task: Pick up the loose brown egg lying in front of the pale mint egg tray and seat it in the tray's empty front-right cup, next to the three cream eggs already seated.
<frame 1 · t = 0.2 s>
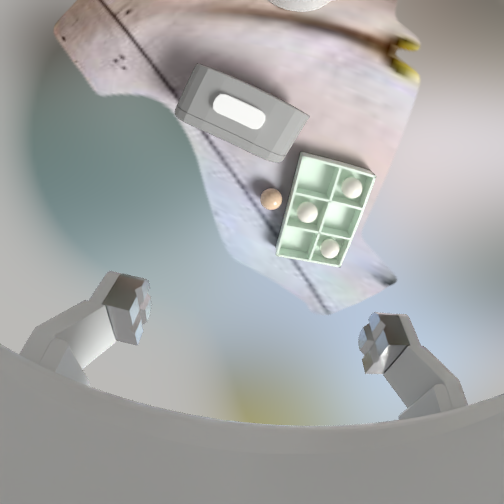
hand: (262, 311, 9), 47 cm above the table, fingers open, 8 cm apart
cream egg a: (349, 183, 54), point 1 cm above the table, touching egg tray
cream egg b: (327, 243, 62), point 1 cm above the table, touching egg tray
egg tray: (321, 210, 58), on the table
alarm clock: (244, 107, 47), on the table
brown egg: (271, 194, 57), on the table
cream egg c: (305, 207, 58), point 1 cm above the table, touching egg tray
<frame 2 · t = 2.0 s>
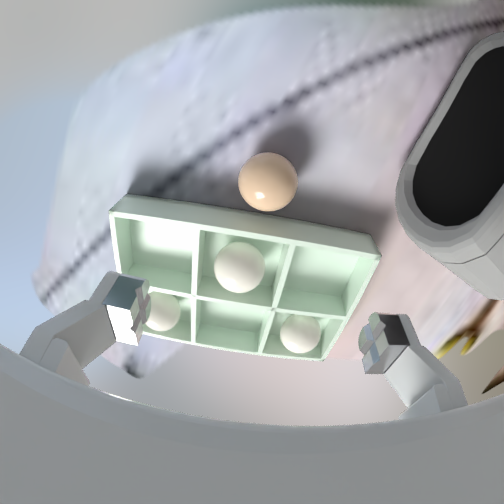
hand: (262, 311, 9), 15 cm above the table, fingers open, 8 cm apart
cream egg a: (299, 318, 30), point 1 cm above the table, touching egg tray
cream egg b: (166, 296, 30), point 1 cm above the table, touching egg tray
egg tray: (237, 279, 28), on the table
alarm clock: (462, 134, 18), on the table
brown egg: (268, 172, 22), on the table
cream egg c: (241, 252, 26), point 1 cm above the table, touching egg tray
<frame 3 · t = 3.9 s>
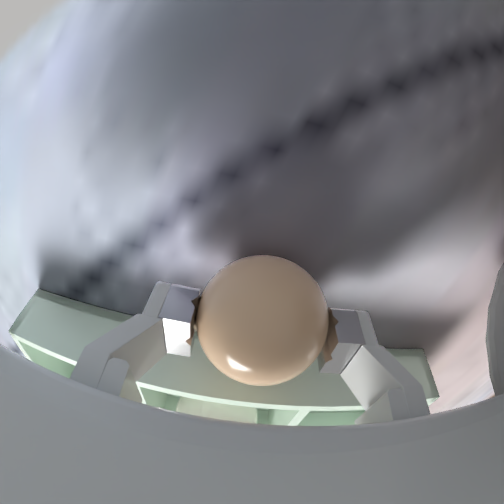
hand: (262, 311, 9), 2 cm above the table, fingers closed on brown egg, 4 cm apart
egg tray: (218, 399, 17), on the table
brown egg: (263, 279, 11), on the table, touching gripper
cream egg c: (220, 382, 15), point 1 cm above the table, touching egg tray
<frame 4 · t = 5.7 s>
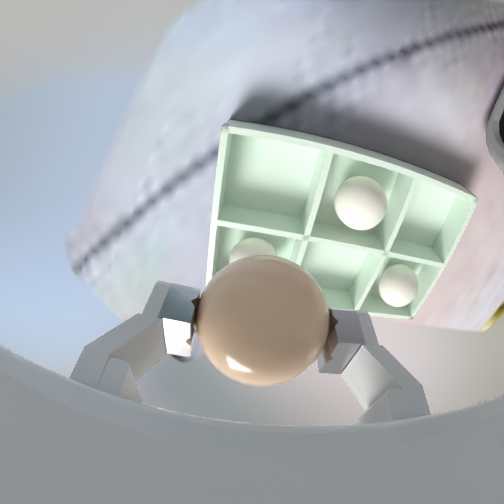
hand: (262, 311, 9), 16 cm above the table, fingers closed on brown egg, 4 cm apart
cream egg a: (392, 272, 27), point 1 cm above the table, touching egg tray
cream egg b: (255, 248, 27), point 1 cm above the table, touching egg tray
egg tray: (340, 225, 25), on the table
brown egg: (263, 278, 11), point 14 cm above the table, touching gripper
cream egg c: (354, 192, 23), point 1 cm above the table, touching egg tray
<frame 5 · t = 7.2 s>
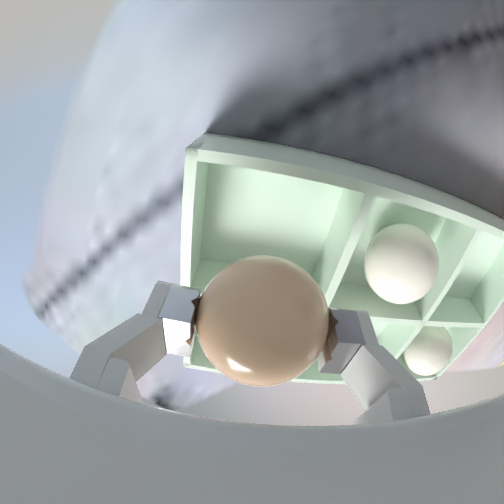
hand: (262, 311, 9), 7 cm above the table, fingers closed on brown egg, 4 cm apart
cream egg a: (420, 329, 20), point 1 cm above the table, touching egg tray
egg tray: (364, 282, 18), on the table
brown egg: (263, 279, 11), point 6 cm above the table, touching gripper
cream egg c: (389, 241, 15), point 1 cm above the table, touching egg tray
when the fingers open (5 cm above the table, at t = 8.0 s): brown egg drops 3 cm, resting on egg tray.
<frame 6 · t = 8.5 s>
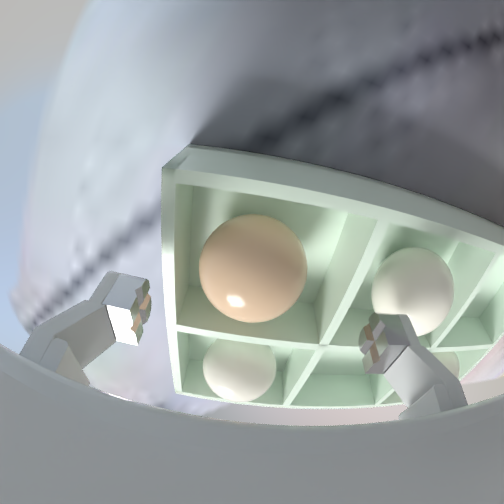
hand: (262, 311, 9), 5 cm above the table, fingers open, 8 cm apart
cream egg a: (426, 350, 18), point 1 cm above the table, touching egg tray
cream egg b: (242, 339, 17), point 1 cm above the table, touching egg tray
egg tray: (369, 306, 16), on the table
brown egg: (266, 242, 13), point 1 cm above the table, tilted 14°, touching egg tray
cream egg c: (398, 265, 14), point 1 cm above the table, touching egg tray
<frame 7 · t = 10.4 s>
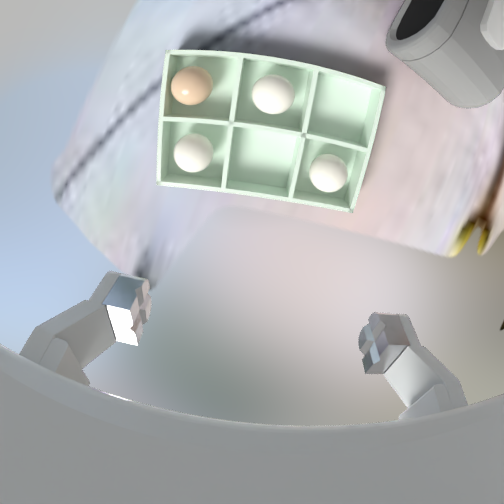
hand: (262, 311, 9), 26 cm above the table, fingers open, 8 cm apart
cream egg a: (324, 167, 31), point 1 cm above the table, touching egg tray
cream egg b: (197, 148, 30), point 1 cm above the table, touching egg tray
egg tray: (266, 124, 29), on the table
alarm clock: (429, 24, 19), on the table
brown egg: (204, 85, 26), point 1 cm above the table, tilted 27°, touching egg tray
cream egg c: (272, 93, 27), point 1 cm above the table, touching egg tray
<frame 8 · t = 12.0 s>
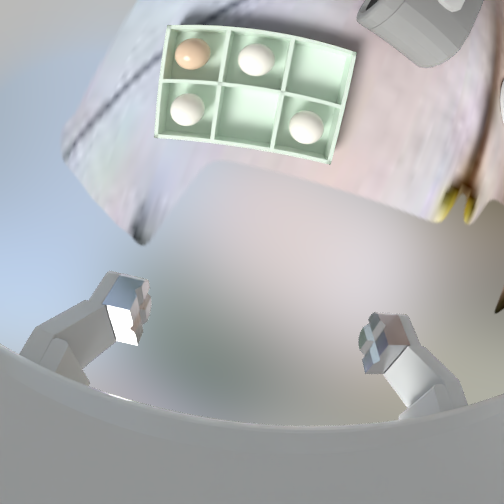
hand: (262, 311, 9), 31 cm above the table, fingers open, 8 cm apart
cream egg a: (304, 124, 33), point 1 cm above the table, touching egg tray
cream egg b: (191, 107, 33), point 1 cm above the table, touching egg tray
egg tray: (252, 87, 31), on the table
alarm clock: (402, 2, 21), on the table
brown egg: (200, 55, 28), point 1 cm above the table, tilted 11°, touching egg tray
cream egg c: (257, 61, 29), point 1 cm above the table, touching egg tray
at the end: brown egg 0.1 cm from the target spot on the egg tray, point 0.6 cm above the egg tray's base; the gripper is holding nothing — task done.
